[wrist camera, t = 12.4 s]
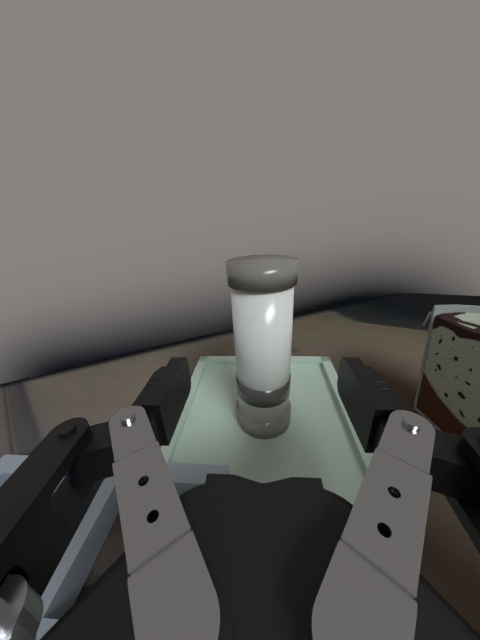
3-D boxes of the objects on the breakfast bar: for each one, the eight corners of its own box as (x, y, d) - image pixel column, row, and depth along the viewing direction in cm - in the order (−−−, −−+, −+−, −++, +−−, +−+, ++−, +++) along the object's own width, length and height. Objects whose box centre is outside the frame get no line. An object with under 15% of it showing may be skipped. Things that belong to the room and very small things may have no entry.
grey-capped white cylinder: (234, 438, 19) (220, 268, 14) (239, 397, 24) (230, 255, 18) (293, 440, 19) (304, 265, 13) (287, 398, 23) (293, 253, 18)
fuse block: (-161, 656, 11) (-196, 640, 10) (16, 471, 18) (5, 454, 17) (203, 712, 9) (196, 698, 8) (230, 483, 17) (228, 465, 16)
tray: (132, 533, 14) (127, 522, 14) (201, 363, 31) (200, 356, 30) (412, 556, 13) (418, 544, 12) (327, 364, 29) (328, 356, 29)
